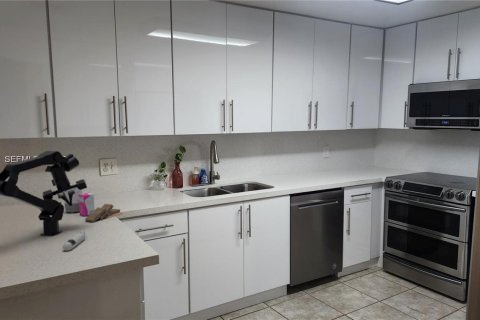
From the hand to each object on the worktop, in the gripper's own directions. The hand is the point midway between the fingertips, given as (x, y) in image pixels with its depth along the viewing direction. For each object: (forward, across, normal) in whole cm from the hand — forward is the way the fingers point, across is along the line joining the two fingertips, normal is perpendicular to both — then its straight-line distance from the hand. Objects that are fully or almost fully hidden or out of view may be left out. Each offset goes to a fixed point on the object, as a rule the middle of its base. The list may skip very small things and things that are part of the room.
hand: (71, 205), depth 172 cm
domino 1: (+12, -5, -3) cm, 14 cm away
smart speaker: (+18, +1, -30) cm, 35 cm away
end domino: (+17, -12, -8) cm, 22 cm away
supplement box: (+17, -5, -19) cm, 26 cm away
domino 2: (+14, -9, -6) cm, 18 cm away
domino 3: (+15, -12, -9) cm, 22 cm away
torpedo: (+4, +2, +30) cm, 30 cm away
